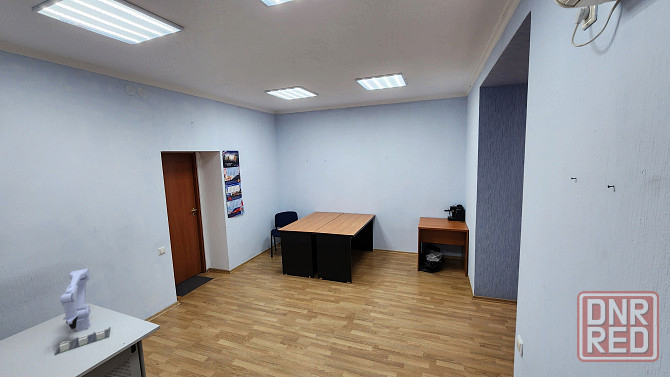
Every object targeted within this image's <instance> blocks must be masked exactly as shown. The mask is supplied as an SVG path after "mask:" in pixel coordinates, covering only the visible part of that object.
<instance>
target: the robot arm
mask: <svg viewBox="0 0 670 377" xmlns="http://www.w3.org/2000/svg"><path fill="white" fill-rule="evenodd" d="M69 279H70V284H69V285H67V287H66V289H65V291H64V293H63V294H62V295H61V296H60V298H59V299H60V303H61V306H62V307H63V311H64V315H65V316H64V317H63V321H64V320H66V321H65V324H67V325H68V326H69V328H70V329H71V330H75V329H76V332H82V331H85V330H87V329H89V328H90V326H92V322H90V316H91V312H92V310H91V306H90V305H88V304H86V291H87V282H88V281H89V280H90V269H89V268H83V269H79V270H72V271H70V273H69Z"/></svg>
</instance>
